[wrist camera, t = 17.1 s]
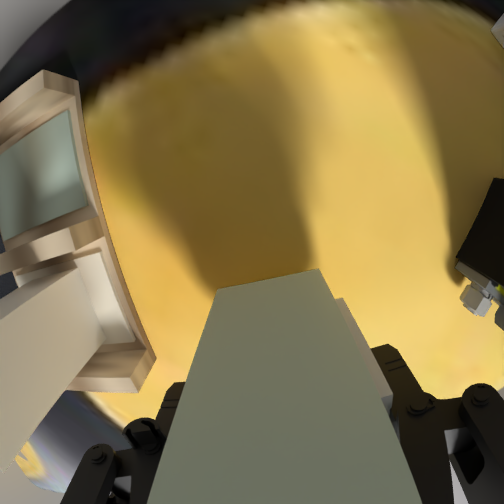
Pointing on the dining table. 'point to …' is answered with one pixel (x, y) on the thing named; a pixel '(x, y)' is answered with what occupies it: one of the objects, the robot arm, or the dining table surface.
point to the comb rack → (65, 223)
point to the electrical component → (485, 256)
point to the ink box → (499, 30)
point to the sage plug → (280, 408)
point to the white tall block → (41, 352)
